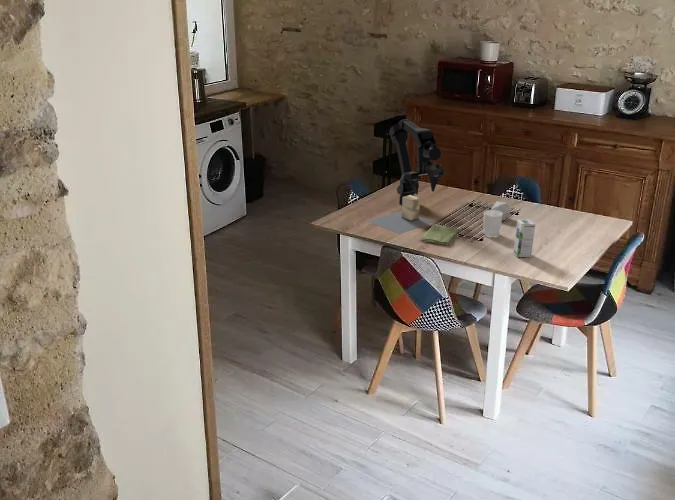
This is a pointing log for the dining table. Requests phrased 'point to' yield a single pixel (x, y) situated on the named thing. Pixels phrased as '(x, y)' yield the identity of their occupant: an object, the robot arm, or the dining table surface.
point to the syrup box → (524, 238)
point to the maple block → (410, 208)
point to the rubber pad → (399, 222)
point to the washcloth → (440, 234)
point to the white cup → (492, 222)
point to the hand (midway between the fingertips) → (424, 192)
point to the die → (502, 209)
